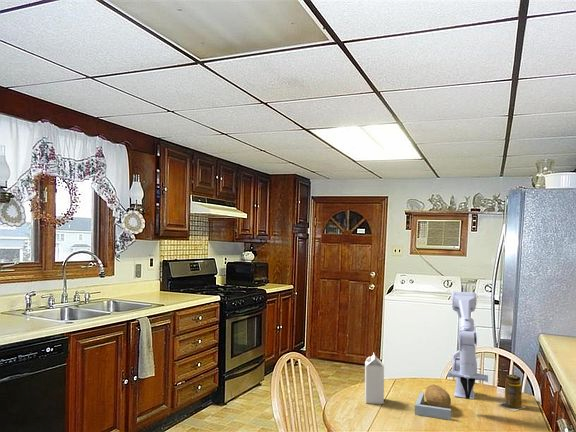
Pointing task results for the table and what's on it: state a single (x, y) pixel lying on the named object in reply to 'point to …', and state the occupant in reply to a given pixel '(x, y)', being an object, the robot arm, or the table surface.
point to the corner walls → (431, 409)
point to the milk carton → (374, 380)
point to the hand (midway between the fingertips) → (467, 397)
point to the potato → (437, 396)
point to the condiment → (513, 393)
